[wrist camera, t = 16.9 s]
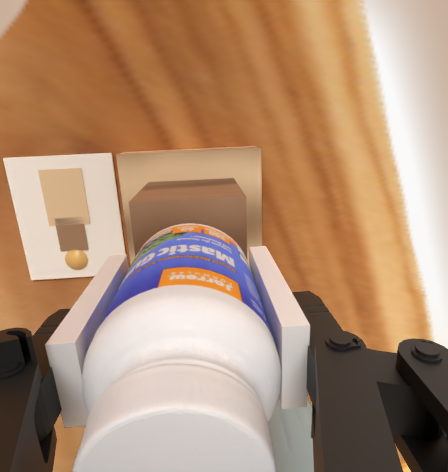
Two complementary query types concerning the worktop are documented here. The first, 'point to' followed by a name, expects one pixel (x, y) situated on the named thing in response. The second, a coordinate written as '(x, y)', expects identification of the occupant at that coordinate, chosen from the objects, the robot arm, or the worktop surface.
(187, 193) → the walnut block
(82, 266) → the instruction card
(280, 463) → the cup
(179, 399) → the pill bottle
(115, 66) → the worktop surface
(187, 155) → the oak base slab
